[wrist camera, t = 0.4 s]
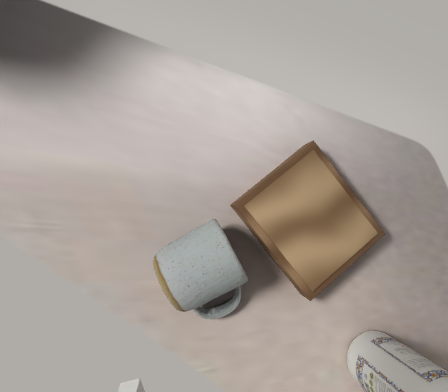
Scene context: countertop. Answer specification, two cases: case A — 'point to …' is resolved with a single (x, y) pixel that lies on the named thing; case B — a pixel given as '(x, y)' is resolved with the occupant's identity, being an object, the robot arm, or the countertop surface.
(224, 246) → the ceramic mug
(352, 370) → the bath foam
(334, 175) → the walnut base
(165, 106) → the countertop surface
